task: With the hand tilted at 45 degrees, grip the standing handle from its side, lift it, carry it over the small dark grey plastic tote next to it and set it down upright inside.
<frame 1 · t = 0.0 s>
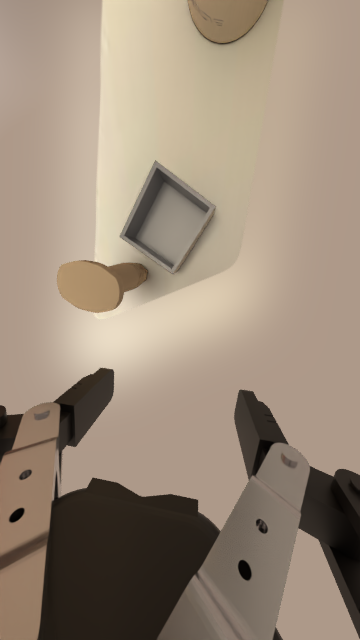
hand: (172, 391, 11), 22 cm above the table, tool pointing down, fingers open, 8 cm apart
handle: (139, 272, 32), on the table
tote: (171, 227, 28), on the table
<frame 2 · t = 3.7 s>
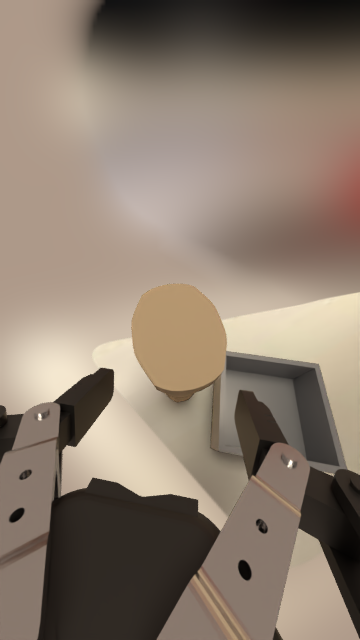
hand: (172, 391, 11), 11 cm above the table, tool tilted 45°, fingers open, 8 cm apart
handle: (179, 388, 22), on the table
tote: (255, 409, 21), on the table
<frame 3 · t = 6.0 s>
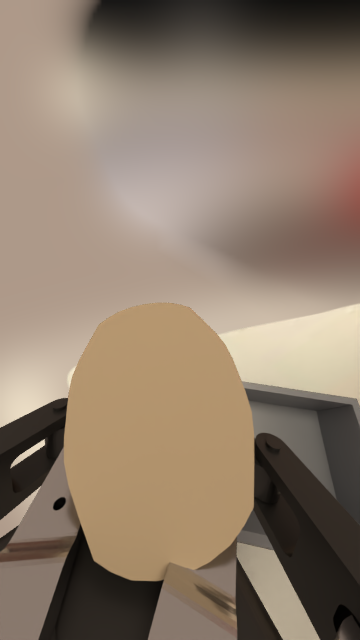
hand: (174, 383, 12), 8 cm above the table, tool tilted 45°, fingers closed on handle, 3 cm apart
handle: (174, 423, 18), on the table, touching gripper
tote: (271, 451, 16), on the table
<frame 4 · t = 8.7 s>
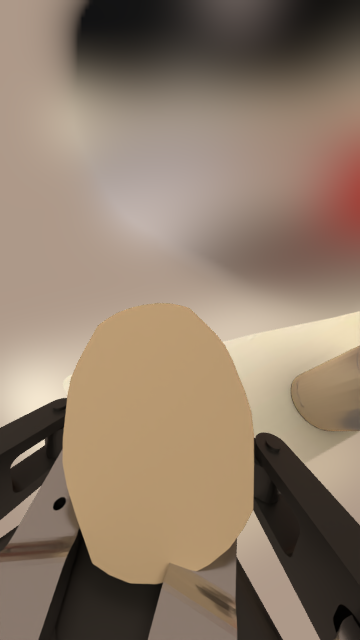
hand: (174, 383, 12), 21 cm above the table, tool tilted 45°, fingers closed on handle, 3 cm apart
handle: (174, 423, 18), point 13 cm above the table, touching gripper
when the fingers open (10 cm above the table, at t = 11.3 s): handle drops 1 cm, resting on tote.
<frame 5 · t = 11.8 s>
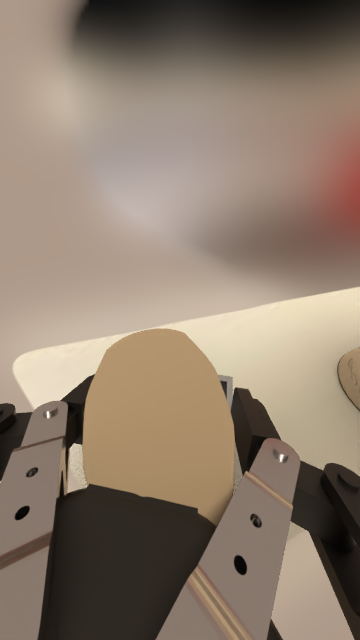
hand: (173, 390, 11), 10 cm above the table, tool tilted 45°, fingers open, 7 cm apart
handle: (174, 426, 19), resting on tote
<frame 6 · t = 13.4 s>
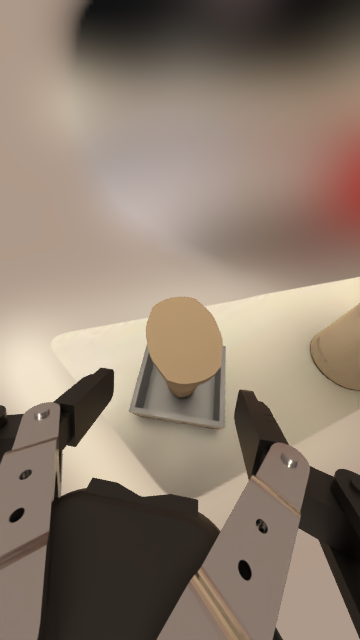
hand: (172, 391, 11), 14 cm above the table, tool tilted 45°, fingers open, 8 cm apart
handle: (181, 386, 25), resting on tote
tote: (181, 385, 25), on the table
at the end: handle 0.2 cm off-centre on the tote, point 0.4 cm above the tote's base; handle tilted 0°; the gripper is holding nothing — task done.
